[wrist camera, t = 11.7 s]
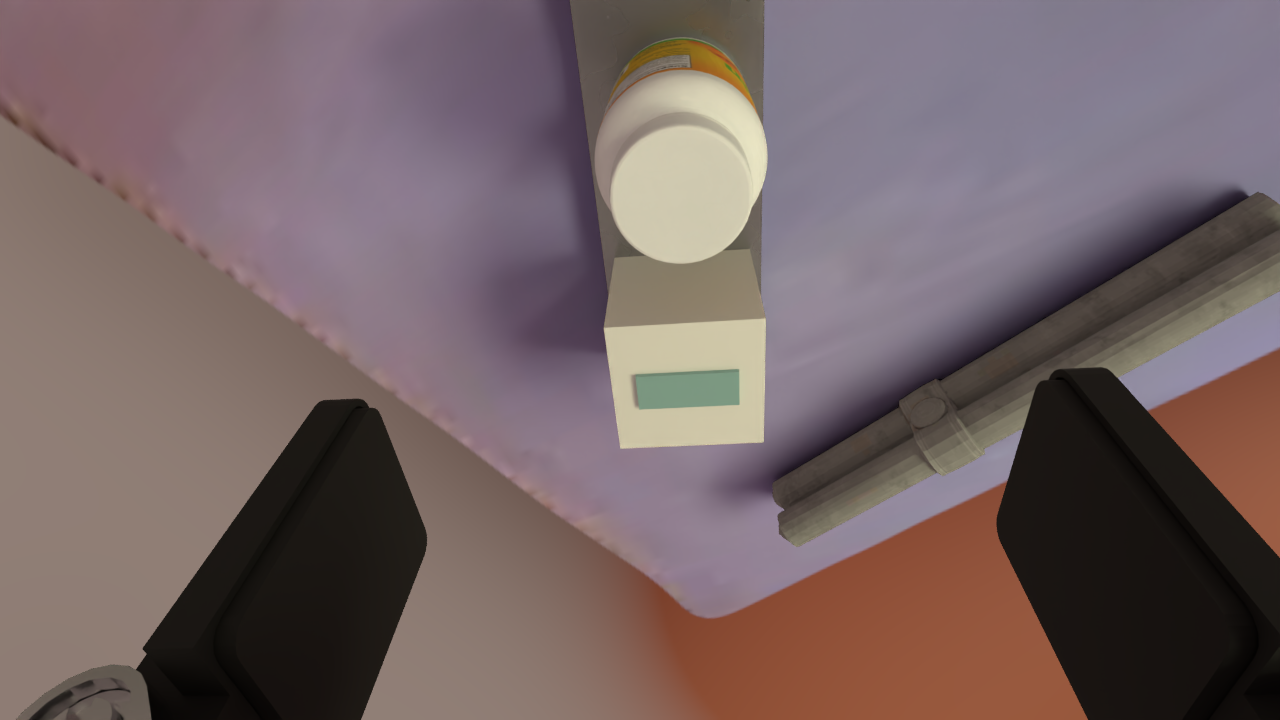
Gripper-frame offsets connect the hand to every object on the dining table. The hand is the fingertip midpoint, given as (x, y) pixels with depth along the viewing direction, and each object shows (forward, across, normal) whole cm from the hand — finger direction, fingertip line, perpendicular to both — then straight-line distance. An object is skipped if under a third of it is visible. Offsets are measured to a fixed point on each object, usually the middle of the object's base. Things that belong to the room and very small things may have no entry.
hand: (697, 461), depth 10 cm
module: (+20, 0, +9) cm, 22 cm away
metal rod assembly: (+22, -14, +14) cm, 30 cm away
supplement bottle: (+20, 0, 0) cm, 20 cm away
